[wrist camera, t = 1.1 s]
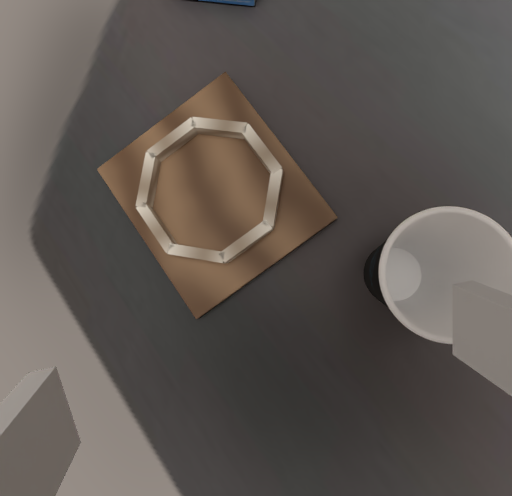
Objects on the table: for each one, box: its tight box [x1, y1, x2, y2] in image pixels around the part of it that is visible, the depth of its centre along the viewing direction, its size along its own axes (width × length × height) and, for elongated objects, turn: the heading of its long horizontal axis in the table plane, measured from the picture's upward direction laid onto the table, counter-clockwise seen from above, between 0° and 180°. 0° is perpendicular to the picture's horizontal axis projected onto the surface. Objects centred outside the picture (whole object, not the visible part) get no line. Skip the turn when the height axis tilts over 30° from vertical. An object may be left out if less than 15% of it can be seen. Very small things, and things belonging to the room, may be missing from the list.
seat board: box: [97, 72, 338, 319], centre depth 30 cm, size 16×18×3 cm
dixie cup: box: [364, 206, 512, 344], centre depth 24 cm, size 8×8×11 cm
